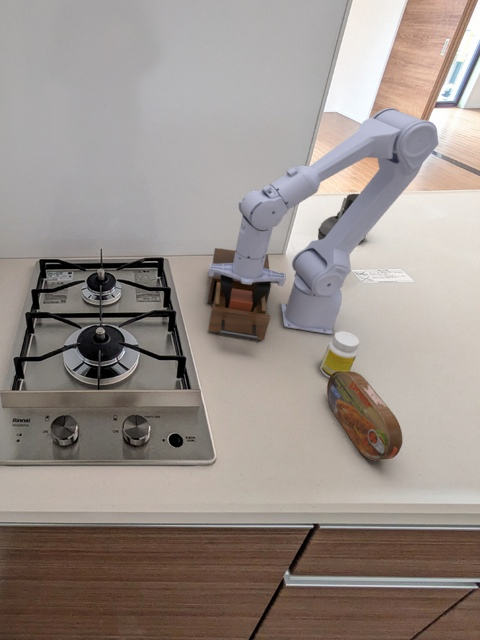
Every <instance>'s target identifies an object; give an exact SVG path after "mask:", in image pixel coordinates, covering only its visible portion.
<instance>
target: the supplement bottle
mask: <svg viewBox="0 0 480 640" xmlns="http://www.w3.org/2000/svg"><path fill="white" fill-rule="evenodd" d="M359 345H360V339H359V338H358V336H356V335H354V334H353V333H351V332H348V331H344V330H343V331H341V330H340V331H336V333H334V335H333V338H332V340H330V341H329V343H327V347H326V350H325V352H324V354H323V358H322V359H321V362H320V367H319V369H320V371H321V373H322V374H323V376H325V377H326V378H327V379H329V378H330V376H331V375H332V374H333V373H334V372H337V371H343V372H351V369H352V367H353V365H354V362H355V360H356V357H357V355H358V348H359Z"/></svg>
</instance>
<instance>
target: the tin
mask: <svg viewBox="0 0 480 640" xmlns="http://www.w3.org/2000/svg"><path fill="white" fill-rule="evenodd" d="M326 396H327V403H328V405H329V407H330V410H331V411H332V413H333V415H334V416H335V418H336V419H337V421H338V422H339V424H340V425H341V426H342V428H343V429H344V431H345V432H346V434H347V435H348V437H349V438H350V440H351V442H352V443H353V445H355V447H356V449H357V450H358V451H359V452H360V454H361V455H362V456H363V457H365V458H366V459H368V460H370V461H376V462H377V461H382V460H391V459H394V458H395V457H397V455H398V454H399V453H400V450H401V448H402V446H403V431H402V428H401V425H400V423H399V420H398V419H397V417H396V415H395V414H394V413H393V411H392V410H391V409H390V408H389V406H388V405H387V404H386V403H385V401H384V399H382V398H381V396H379V394H378V393H377V392H376V390H374V388H373V387H372V386H371V384H370V383H369V382H368V380H366V378H365V377H364V376H363V375H361V373H358V372H355V371H349V372H343V371H337V372H334V373H333V374H332V375H331V376H330V378H328V381H327V385H326Z"/></svg>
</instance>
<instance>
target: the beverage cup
mask: <svg viewBox="0 0 480 640" xmlns="http://www.w3.org/2000/svg"><path fill="white" fill-rule="evenodd" d="M346 198H347V197H343V200H342V202H341V203H342V204H341V207H340V209H339V211H340V213H339V216H336V215H332V216H329V217H328V218H326V219H325V220H323V221H322V222H321V224H320V226H319V227H318V233H317V240H321V239H324V238H325V237H326V236H327V234H328V233H329V232H330V231H331V229H332V228H333V227H334V226H335V224H336V223H337V222H338V221H339V219H340V218H341V217H342V216H341V215H342V211H343V209H344V205H345V202H346Z"/></svg>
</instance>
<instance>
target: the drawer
mask: <svg viewBox="0 0 480 640" xmlns="http://www.w3.org/2000/svg"><path fill="white" fill-rule="evenodd" d="M232 289H239V290H246V291H252V295H253V291H254V286H251V285H244V284H237V283H233V287H232ZM266 306H267V304H266V303H265V296H264V297H263V298H262V299H261V300H260V301H259V303H258V304H257V305H256V307H255V309H254V311H253V312H248V311H242V310H235V309H229V308H225V296H224V292H223V290H222V287H221V284H220V281H217V282H216V288H215V294H214V303H213V305H212V307H211V311H210V317H209V322H208V329H207V330H208V331H209V332H215V333H219V337H223V338H229V339H234V340H241V341H247V342H252V343H257V342H258V341H259V340H262V341H264V340H265V339H266V334H267V331H268V328H269V324H270V321H271V314H269V313H268V314H267V307H266Z"/></svg>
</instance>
